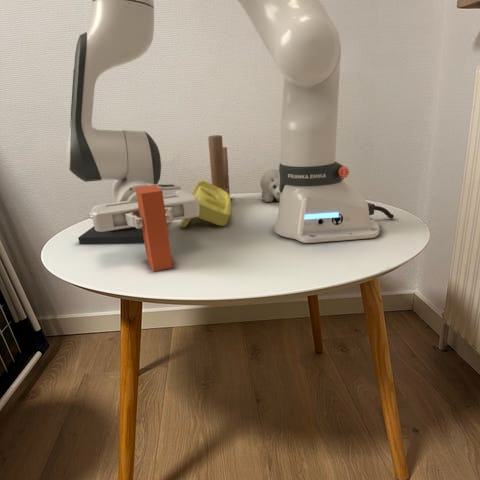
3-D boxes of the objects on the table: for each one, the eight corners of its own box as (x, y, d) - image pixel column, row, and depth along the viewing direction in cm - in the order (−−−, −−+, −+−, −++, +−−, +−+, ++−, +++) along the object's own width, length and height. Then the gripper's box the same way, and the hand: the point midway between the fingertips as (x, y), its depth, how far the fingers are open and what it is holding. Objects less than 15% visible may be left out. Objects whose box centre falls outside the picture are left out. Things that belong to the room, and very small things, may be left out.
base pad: (167, 222, 107) (165, 206, 105) (149, 242, 93) (146, 224, 92) (106, 223, 109) (103, 207, 107) (79, 244, 95) (75, 226, 93)
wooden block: (230, 198, 126) (226, 132, 118) (226, 207, 117) (221, 136, 108) (217, 199, 127) (212, 132, 118) (212, 208, 117) (206, 137, 109)
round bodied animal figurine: (265, 209, 114) (264, 175, 109) (259, 198, 124) (258, 167, 120) (292, 206, 114) (292, 173, 110) (284, 196, 124) (283, 166, 120)
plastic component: (230, 217, 99) (189, 200, 97) (219, 244, 103) (179, 229, 101) (230, 192, 116) (195, 177, 114) (220, 216, 119) (186, 202, 117)
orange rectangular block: (147, 261, 83) (135, 187, 77) (165, 258, 84) (155, 184, 78) (153, 271, 78) (141, 193, 72) (172, 268, 79) (162, 190, 73)
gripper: (84, 196, 83) (90, 212, 72) (185, 183, 90) (206, 195, 78) (91, 228, 86) (98, 248, 75) (189, 213, 93) (209, 229, 81)
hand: (154, 221), depth 77 cm, fingers closed on orange rectangular block, 3 cm apart
